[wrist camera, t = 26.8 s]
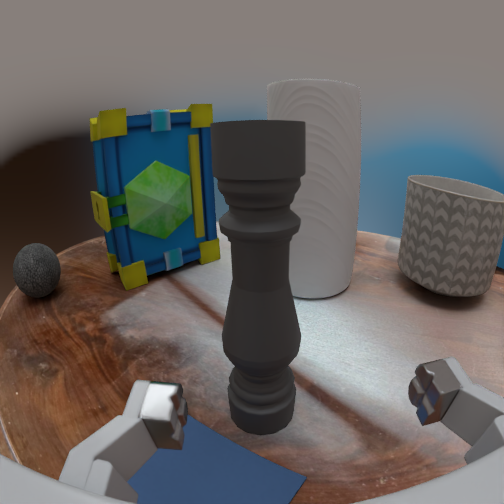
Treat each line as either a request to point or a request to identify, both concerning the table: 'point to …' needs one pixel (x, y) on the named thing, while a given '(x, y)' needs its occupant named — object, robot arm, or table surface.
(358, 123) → the vase
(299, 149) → the candle holder
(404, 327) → the table surface
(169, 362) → the table surface
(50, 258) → the decorative ball
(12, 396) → the table surface
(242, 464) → the blue cloth
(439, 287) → the planter
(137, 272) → the decorative book
